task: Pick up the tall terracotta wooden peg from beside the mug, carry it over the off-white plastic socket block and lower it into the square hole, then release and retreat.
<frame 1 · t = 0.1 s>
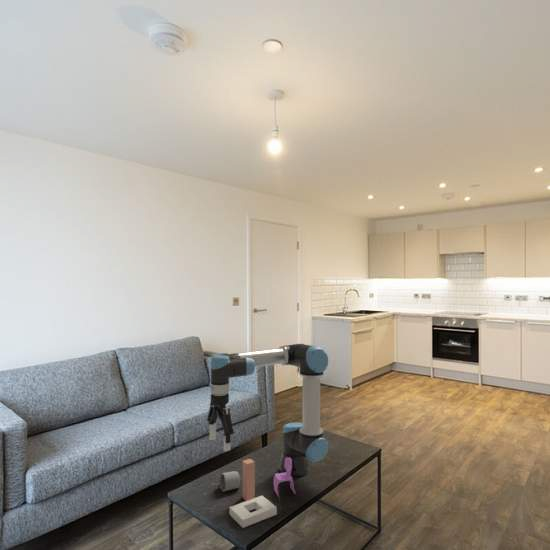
hand: (219, 445, 165), 28 cm above the table, tool pointing down, fingers open, 13 cm apart
peg: (248, 497, 176), on the table
toy chair: (284, 492, 181), on the table
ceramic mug: (228, 488, 185), on the table
socket block: (253, 514, 163), on the table
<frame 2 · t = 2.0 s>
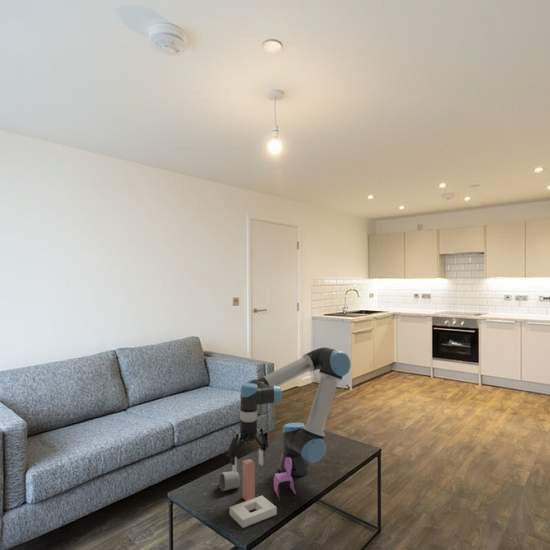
hand: (247, 468, 176), 13 cm above the table, tool pointing down, fingers open, 13 cm apart
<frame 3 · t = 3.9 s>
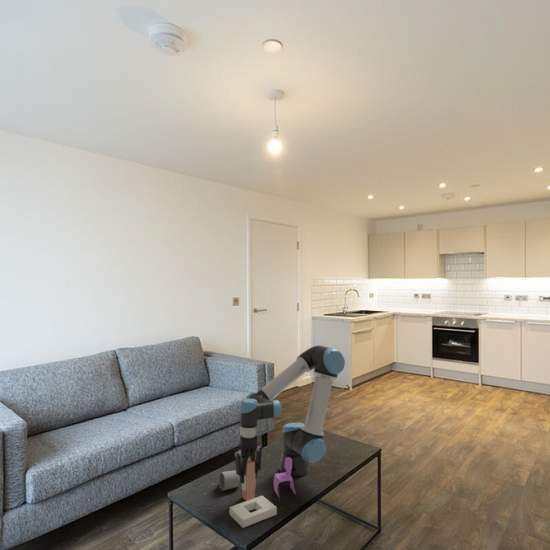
hand: (248, 488, 176), 4 cm above the table, tool pointing down, fingers closed on peg, 4 cm apart
peg: (248, 497, 176), on the table, touching gripper
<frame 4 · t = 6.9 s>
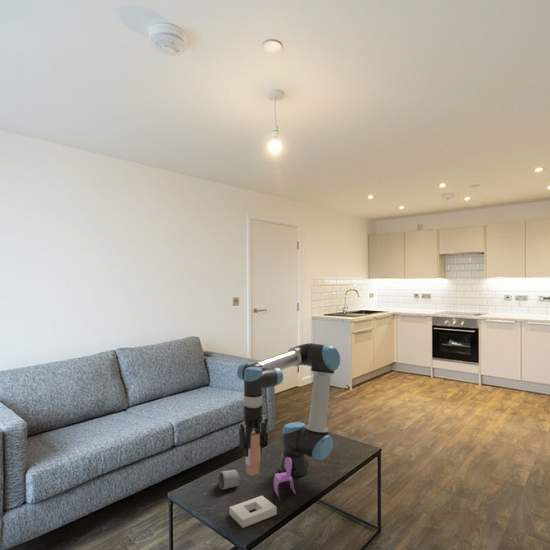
hand: (252, 462, 164), 21 cm above the table, tool pointing down, fingers closed on peg, 4 cm apart
peg: (252, 472, 164), point 17 cm above the table, touching gripper
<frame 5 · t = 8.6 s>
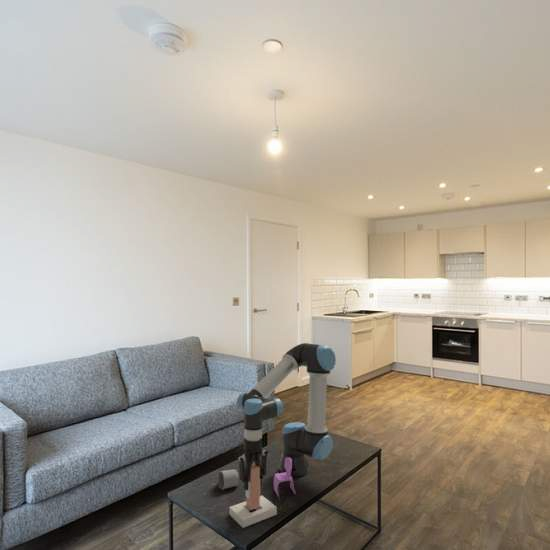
hand: (252, 495, 163), 8 cm above the table, tool pointing down, fingers closed on peg, 4 cm apart
peg: (252, 505, 163), point 4 cm above the table, touching gripper
when the fingers open (5 cm above the table, at t = 10.0 s): peg stays where it is, resting in socket block.
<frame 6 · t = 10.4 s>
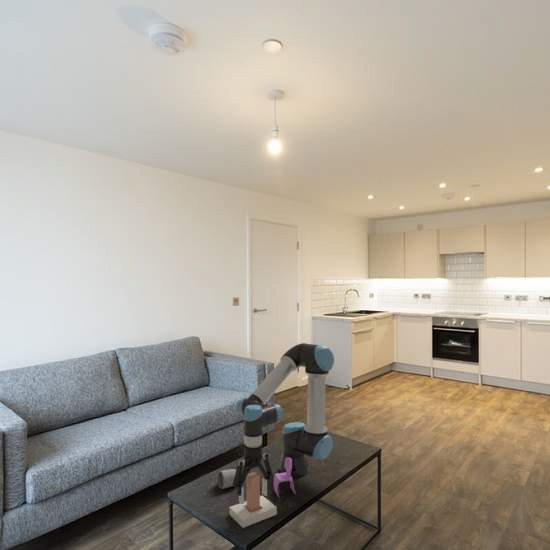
hand: (253, 498, 163), 6 cm above the table, tool pointing down, fingers open, 10 cm apart
peg: (253, 514, 163), resting in socket block
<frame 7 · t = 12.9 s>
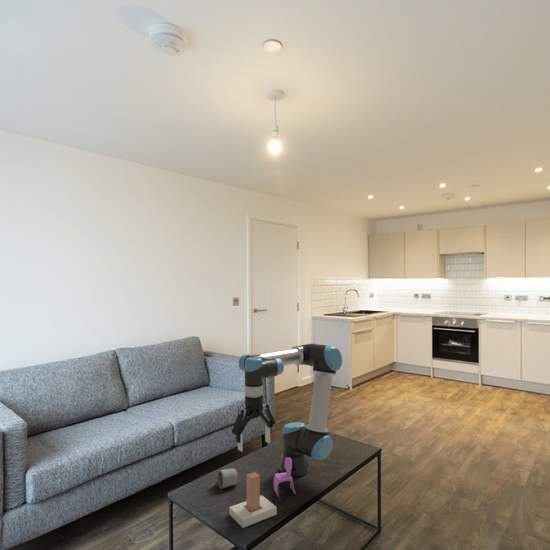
hand: (254, 446, 166), 27 cm above the table, tool pointing down, fingers open, 13 cm apart
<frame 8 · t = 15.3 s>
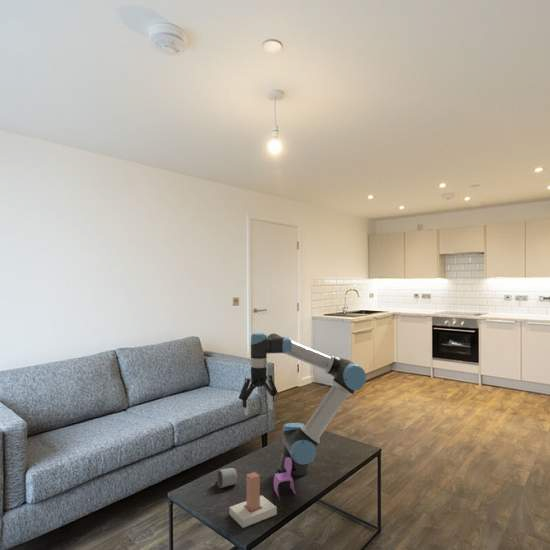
hand: (258, 411, 187), 35 cm above the table, tool pointing down, fingers open, 13 cm apart
at the end: peg 0.0 cm off-centre on the socket block, point 0.0 cm above the socket block's base; peg tilted 0°; the gripper is holding nothing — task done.
